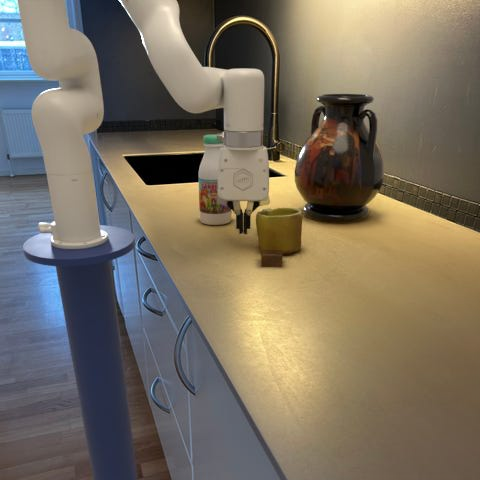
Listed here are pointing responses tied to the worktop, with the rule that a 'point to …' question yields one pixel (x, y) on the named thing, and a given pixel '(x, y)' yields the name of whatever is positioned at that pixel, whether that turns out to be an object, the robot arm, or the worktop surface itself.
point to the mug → (279, 229)
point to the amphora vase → (340, 160)
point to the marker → (271, 258)
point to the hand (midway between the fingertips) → (243, 232)
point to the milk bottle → (211, 185)
